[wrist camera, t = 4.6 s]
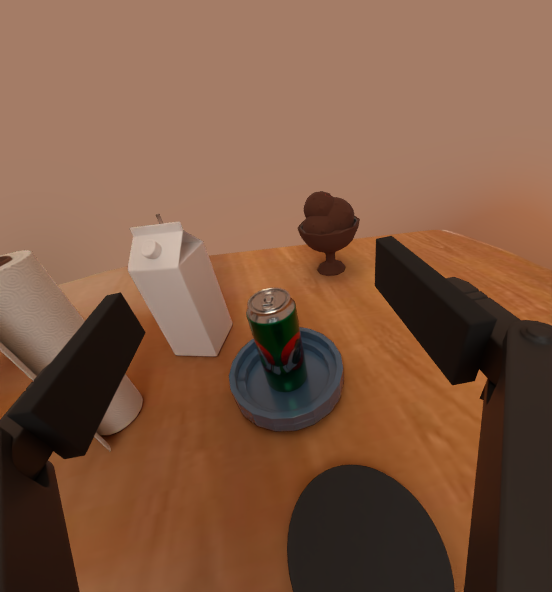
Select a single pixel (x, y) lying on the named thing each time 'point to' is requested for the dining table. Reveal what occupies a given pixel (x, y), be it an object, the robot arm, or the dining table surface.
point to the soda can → (278, 338)
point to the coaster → (364, 537)
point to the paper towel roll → (48, 331)
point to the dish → (289, 405)
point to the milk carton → (179, 288)
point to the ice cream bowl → (328, 228)
